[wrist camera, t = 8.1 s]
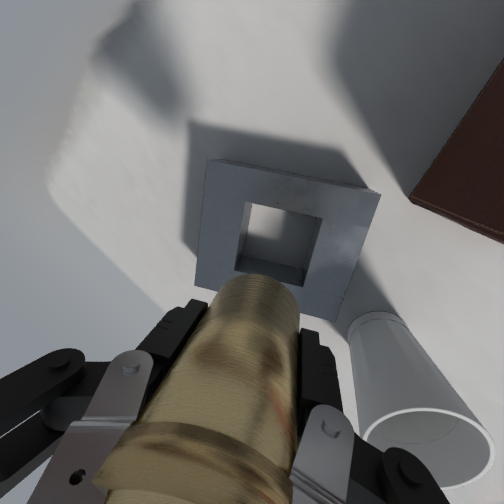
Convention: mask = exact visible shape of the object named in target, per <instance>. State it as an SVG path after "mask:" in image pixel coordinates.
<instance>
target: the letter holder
mask: <svg viewBox="0 0 504 504" xmlns="http://www.w3.org/2000/svg"><path fill="white" fill-rule="evenodd" d="M408 199H409V200H410V202H412V203H413V204H415V205H418V206H420V207H422V208H425V209H427V210H429V211H431V212H434V213H436V214H438V215H440V216H442V217H444V218H446V219H449V220H451V221H453V222H455V223H457V224H460V225H462V226H464V227H466V228H468V229H470V230H472V231H475V232H477V233H479V234H482V235H484V236H486V237H488V238H491V239H493V240H495V241H497V242H500V243H502V244H504V59H503V60H502V62H501V63H500V64H499V66H498V67H497V69H496V71H495V72H494V74H493V75H492V76H491V78H490V79H489V81H488V82H487V84H486V85H485V87H484V88H483V90H482V91H481V93H480V94H479V96H478V97H477V98H476V100H475V101H474V103H473V104H472V106H471V107H470V109H469V110H468V112H467V113H466V115H465V116H464V118H463V119H462V121H461V122H460V124H459V125H458V126H457V128H456V129H455V131H454V132H453V134H452V135H451V137H450V138H449V140H448V141H447V143H446V144H445V146H444V147H443V148H442V150H441V151H440V153H439V154H438V156H437V157H436V159H435V160H434V162H433V163H432V165H431V166H430V168H429V169H428V171H427V172H426V174H425V175H424V176H423V178H422V180H421V181H420V182H419V184H418V185H417V186H416V188H415V189H414V191H413V192H412V194H411V195H410V196H409V198H408Z"/></svg>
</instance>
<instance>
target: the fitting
mask: <svg viewBox="0 0 504 504" xmlns="http://www.w3.org/2000/svg"><path fill="white" fill-rule="evenodd" d="M299 325H300V312H299V307H298V304H297V301H296V299H295V297H294V296H293V294H292V293H291V292H290V290H289V289H288V288H287V287H286V286H284V285H283V284H282V283H280V282H279V281H277V280H275V279H273V278H271V277H268V276H265V275H260V274H245V275H240V276H237V277H234V278H232V279H230V280H229V281H228V282H226V283H225V284H224V285H223V286H222V287H221V288H220V290H219V291H218V293H217V294H216V296H215V298H214V299H213V301H212V302H211V304H210V306H209V307H208V309H207V310H206V312H205V313H204V315H203V317H202V318H201V320H200V321H199V323H198V325H197V326H196V328H195V329H194V331H193V332H192V334H191V336H190V337H189V339H188V340H187V342H186V344H185V345H184V347H183V348H182V350H181V352H180V353H179V355H178V356H177V358H176V359H175V361H174V363H173V364H172V366H171V367H170V369H169V371H168V372H167V374H166V375H165V377H164V378H163V380H162V382H161V383H160V385H159V386H158V388H157V390H156V391H155V393H154V394H153V396H152V397H151V399H150V401H149V402H148V404H147V405H146V407H145V409H144V410H143V412H142V413H141V415H140V417H139V419H138V421H137V423H136V425H133V426H130V427H127V428H126V429H125V431H124V433H123V434H122V436H121V437H120V439H119V440H118V442H117V443H116V445H115V446H114V448H113V449H112V451H111V453H110V454H109V456H108V457H107V459H106V460H105V462H104V463H103V465H102V466H101V468H100V469H99V471H98V472H97V474H96V476H95V477H94V479H93V480H92V483H95V484H97V485H100V486H103V487H106V488H108V489H109V493H108V496H107V498H106V501H105V504H292V502H293V485H294V484H293V482H292V481H291V480H290V479H289V475H290V472H291V469H292V465H293V462H294V459H295V456H296V452H297V410H298V367H299Z"/></svg>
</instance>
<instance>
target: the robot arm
mask: <svg viewBox="0 0 504 504" xmlns="http://www.w3.org/2000/svg"><path fill="white" fill-rule="evenodd" d="M207 309H208V303H206V302H202V301H199V300H195V299H191V300H190V301H189V303H188V304H187V305H186V306H185V308H182V307H176V308H174V309H172V310H170V311H168V312H167V313H166V315H165V316H164V317H163V318H162V320H161V321H160V322H159V323H158V324H157V325H156V327H154V329H153V330H152V331H151V332H150V333H149V334H148V335H147V337H146V338H145V339H144V340H143V341H142V342H141V343H140V345H139V346H138V347H137V348H136V349H135V350H131V351H126V352H123V353H121V354H119V355H118V356H116V357H115V358H114V359H113V360H112V361H110V362H85V356H84V354H83V353H82V352H81V351H80V350H77V349H72V348H66V349H60V350H56V351H53V352H51V353H49V354H47V355H45V356H43V357H41V358H39V359H37V360H35V361H33V362H32V363H30V364H28V365H26V366H24V367H22V368H20V369H18V370H16V371H14V372H13V373H11V374H9V375H7V376H5V377H3V378H1V379H0V437H1V436H2V435H4V434H5V433H6V432H8V431H9V430H11V429H12V428H14V427H15V426H17V425H18V424H20V423H21V422H23V421H24V420H26V419H27V418H29V417H30V416H31V415H33V414H34V413H36V412H37V411H39V410H40V412H38V413H37V414H35V415H34V416H33V417H31V418H29V419H28V420H26V421H25V422H24V423H22V424H21V425H19V426H18V427H16V428H15V429H13V430H12V431H10V432H9V433H7V434H6V435H5V436H3V437H2V438H0V498H2V497H3V496H4V495H5V494H6V493H8V492H9V491H10V490H11V489H12V488H14V487H15V486H16V485H17V484H18V483H20V482H21V481H22V480H23V479H24V478H25V477H27V476H28V475H29V474H30V473H31V472H32V471H34V470H35V469H36V468H37V467H39V466H40V465H41V464H42V463H43V462H44V461H46V460H47V459H48V458H49V457H51V456H52V455H53V456H52V458H51V459H50V461H49V463H48V465H47V467H46V469H45V471H44V473H43V474H42V476H41V478H40V480H39V482H38V484H37V486H36V487H35V489H34V491H33V493H32V495H31V496H30V498H29V500H28V502H27V504H105V501H106V498H107V496H108V493H109V489H108V488H106V487H103V486H100V485H97V484H95V483H92V480H93V479H94V477H95V476H96V474H97V472H98V471H99V469H100V468H101V466H102V465H103V463H104V462H105V460H106V459H107V457H108V456H109V454H110V453H111V451H112V449H113V448H114V446H115V445H116V443H117V442H118V440H119V439H120V437H121V436H122V434H123V433H124V431H125V429H126V428H127V427H130V426H133V425H136V423H137V421H138V419H139V417H140V415H141V413H142V412H143V410H144V409H145V407H146V405H147V404H148V402H149V401H150V399H151V397H152V396H153V394H154V393H155V391H156V390H157V388H158V386H159V385H160V383H161V382H162V380H163V378H164V377H165V375H166V374H167V372H168V371H169V369H170V367H171V366H172V364H173V363H174V361H175V359H176V358H177V356H178V355H179V353H180V352H181V350H182V348H183V347H184V345H185V344H186V342H187V340H188V339H189V337H190V336H191V334H192V332H193V331H194V329H195V328H196V326H197V325H198V323H199V321H200V320H201V318H202V317H203V315H204V313H205V312H206V310H207ZM337 377H338V375H337V370H336V362H335V357H334V355H333V354H332V352H331V350H330V349H329V347H326V346H322V345H320V342H319V333H318V332H316V331H312V330H308V329H304V328H301V330H300V333H299V367H298V410H297V452H296V456H295V459H294V462H293V465H292V469H291V472H290V475H289V479H290V480H291V481H292V482H293V484H294V485H293V502H292V504H450V503H449V501H448V500H447V498H446V497H445V495H444V493H443V492H442V490H441V489H440V487H439V485H438V484H437V482H436V481H435V479H434V477H433V476H432V474H431V473H430V471H429V470H428V468H427V467H426V466H425V465H424V464H423V463H422V462H421V461H420V460H419V459H418V458H417V457H416V456H415V455H413V454H412V453H410V452H408V451H407V450H404V449H402V448H398V447H391V448H388V449H387V450H386V451H385V452H382V451H381V450H379V449H377V448H376V447H374V446H372V445H371V444H369V443H368V442H366V441H365V440H363V439H362V438H360V437H359V436H358V435H357V434H356V433H355V432H354V430H353V427H352V425H351V423H350V421H349V420H348V418H347V417H346V416H345V415H344V413H343V407H342V400H341V394H340V388H339V381H338V378H337Z"/></svg>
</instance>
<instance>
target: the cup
mask: <svg viewBox="0 0 504 504" xmlns="http://www.w3.org/2000/svg"><path fill="white" fill-rule="evenodd" d="M347 339H348V343H349V348H350V356H351V364H352V372H353V380H354V388H355V396H356V404H357V413H358V423H359V432H360V438H362V439H363V440H365V441H366V442H368V443H369V444H371V445H372V446H374V447H376V448H377V449H379V450H381V451H382V452H385V451H386V450H387V449H388V448H391V447H398V448H402V449H404V450H407V451H408V452H410V453H412V454H413V455H415V456H416V457H417V458H418V459H419V460H420V461H421V462H422V463H423V464H424V465H425V466H426V467H427V468H428V470H429V471H430V473H431V474H432V476H433V477H434V479H435V481H436V482H437V484H438V485H439V487H440V489H441V490H446V489H453V488H457V487H461V486H464V485H467V484H469V483H472V482H474V481H475V480H477V479H479V478H480V477H482V476H483V475H484V474H485V473H486V472H487V471H488V470H489V469H490V467H491V466H492V464H493V461H494V458H495V446H494V442H493V440H492V438H491V436H490V435H489V433H488V432H487V431H486V429H485V428H484V427H483V426H482V424H481V423H480V422H479V420H478V419H477V418H476V417H475V415H474V414H473V413H472V411H471V410H470V409H469V408H468V406H467V405H466V404H465V402H464V401H463V400H462V399H461V397H460V396H459V395H458V394H457V392H456V391H455V390H454V388H453V387H452V386H451V384H450V383H449V382H448V380H447V379H446V378H445V376H444V375H443V374H442V373H441V371H440V370H439V369H438V367H437V366H436V365H435V363H434V362H433V361H432V359H431V358H430V357H429V355H428V354H427V353H426V351H425V350H424V349H423V347H422V346H421V345H420V344H419V342H418V341H417V340H416V338H415V337H414V336H413V334H412V333H411V332H410V330H409V328H408V327H407V325H406V324H405V322H404V321H403V320H402V319H401V318H399V317H398V316H396V315H394V314H391V313H388V312H370V313H366V314H364V315H361V316H360V317H358V318H357V319H355V320H354V321H353V322H352V324H351V325H350V327H349V329H348V333H347Z"/></svg>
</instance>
